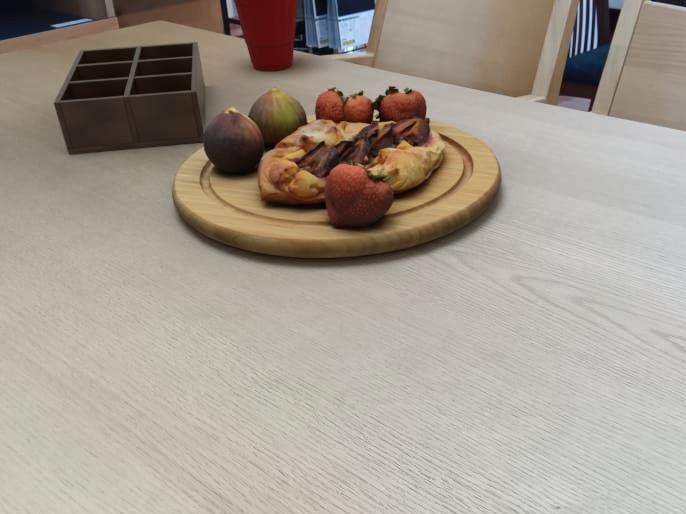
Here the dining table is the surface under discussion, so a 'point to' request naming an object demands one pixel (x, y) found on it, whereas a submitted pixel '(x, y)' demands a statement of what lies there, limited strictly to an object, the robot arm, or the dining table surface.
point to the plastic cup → (268, 31)
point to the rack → (133, 98)
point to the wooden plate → (334, 176)
